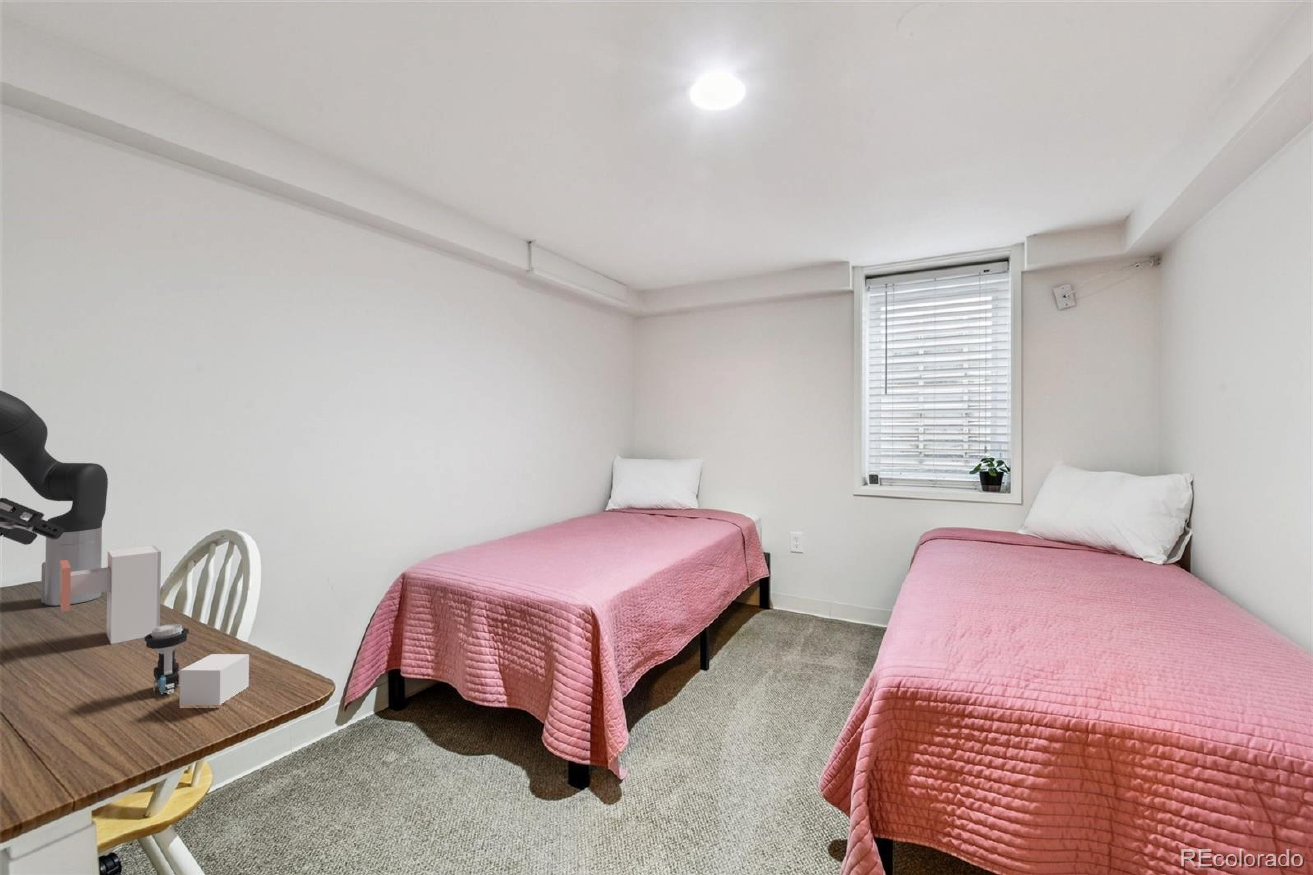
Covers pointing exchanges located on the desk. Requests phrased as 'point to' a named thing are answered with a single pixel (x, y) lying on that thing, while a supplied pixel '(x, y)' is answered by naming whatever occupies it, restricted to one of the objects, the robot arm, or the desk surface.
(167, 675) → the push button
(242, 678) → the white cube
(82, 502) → the robot arm
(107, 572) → the plug
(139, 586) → the socket block
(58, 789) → the desk surface
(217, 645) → the desk surface
